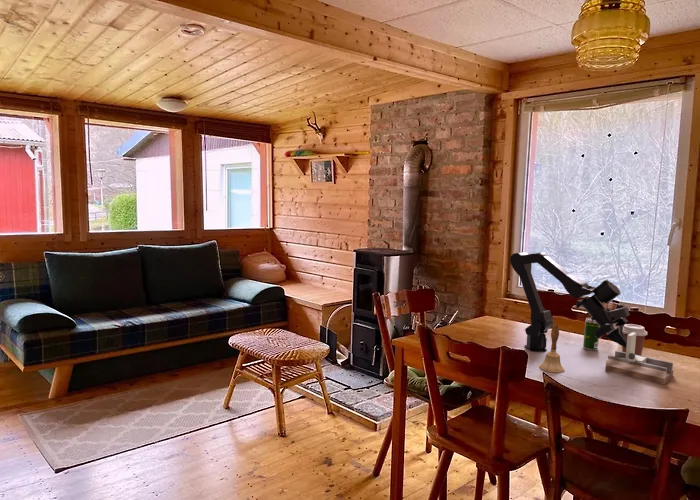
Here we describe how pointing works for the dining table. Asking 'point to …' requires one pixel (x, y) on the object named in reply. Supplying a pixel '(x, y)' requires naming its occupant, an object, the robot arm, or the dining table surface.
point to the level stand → (640, 368)
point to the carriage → (633, 349)
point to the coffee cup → (640, 336)
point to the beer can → (590, 335)
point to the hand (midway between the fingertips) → (628, 347)
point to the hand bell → (553, 355)
